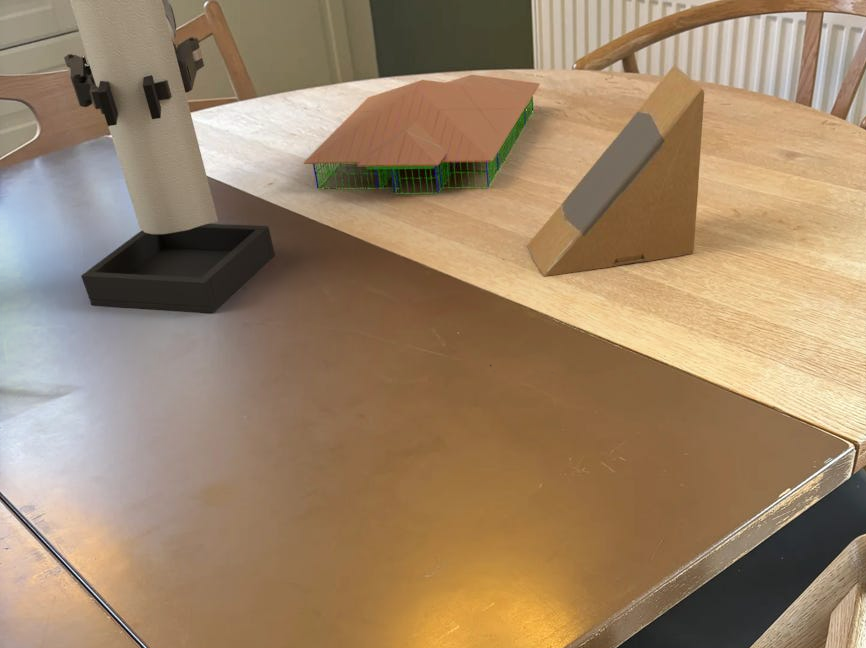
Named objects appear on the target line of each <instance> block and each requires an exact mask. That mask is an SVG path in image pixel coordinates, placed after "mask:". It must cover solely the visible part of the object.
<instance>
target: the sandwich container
mask: <svg viewBox="0 0 866 648" xmlns="http://www.w3.org/2000/svg"><path fill="white" fill-rule="evenodd" d="M704 103H705V91H704V89H703V88H702V87H701V86H700V85H698V83H696V82H695V81H694V80H693V79H692V78H691V77H690V76H689V75H687V73H685V72H684V71H683V70H682V69H680V67H678V66H677V65H675V64H674V65H673V66H672V67H671V68H670V69H669V70H668V71H667V73H666V74H665V75H664V77H663V78H662V79H661V81H660V82H659V83H658V85H656V87H655V88H654V89H653V91H652V92H651V94H650V95H649V96H648V97H647V98H646V99H645V101H644V103H643V104H642V105H641V106H640V108H639V109H638V110H637V111H636V112H635V113H634V115H633V116H632V117H631V119H630V120H629V121H628V122H627V123H626V125H625V126H624V128H622V130H621V131H620V132H619V134H618V135H617V136H616V138H615V139H613V141H612V142H611V143H610V145H609V146H608V147H607V148H606V149H605V150H604V152H603V153H602V154H601V155H600V156H599V158H598V159H597V160H596V162H595V163H594V164H593V165H592V166H591V168H590V169H589V170H588V171H587V173H585V175H584V176H583V178H581V180H580V181H579V182H578V183H577V184H576V186H575V187H574V188H573V189H572V191H571V192H570V193H569V195H568V196H567V197H566V198H565V200H564V201H562V203H561V204H560V205H559V207H558V208H557V209H556V210H555V211H554V213H553V214H552V215H551V216H550V217H549V218H548V220H546V222H545V223H544V224H543V225H542V226H541V228H539V230H538V231H537V233H536V234H535V235H534V236H533V237H532V239H531V240H530V241H529V242H528V243H527V244H526V246H527V248H528V250H529V253H530V255H531V259H532V260H533V262H534V263H535V265H536V266H537V268H538V269H539V270H540V272H541V274H542V275H543V276H544V277H547V276H548V277H549V276H555V275H562V274H569V273H576V272H584V271H592V270H599V269H605V268H613V267H617V266H622V265H630V264H636V263H642V262H651V261H652V262H653V261H656V260H662V259H663V260H664V259H669V258H674V257H680V256H685V255H691V254H694V252H695V239H696V237H695V236H696V225H697V224H696V223H697V211H698V194H699V182H700V181H699V179H700V166H701V165H700V164H701V152H702V151H701V149H702V136H703V135H702V134H703V133H702V132H703V119H704V106H705V105H704Z"/></svg>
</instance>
